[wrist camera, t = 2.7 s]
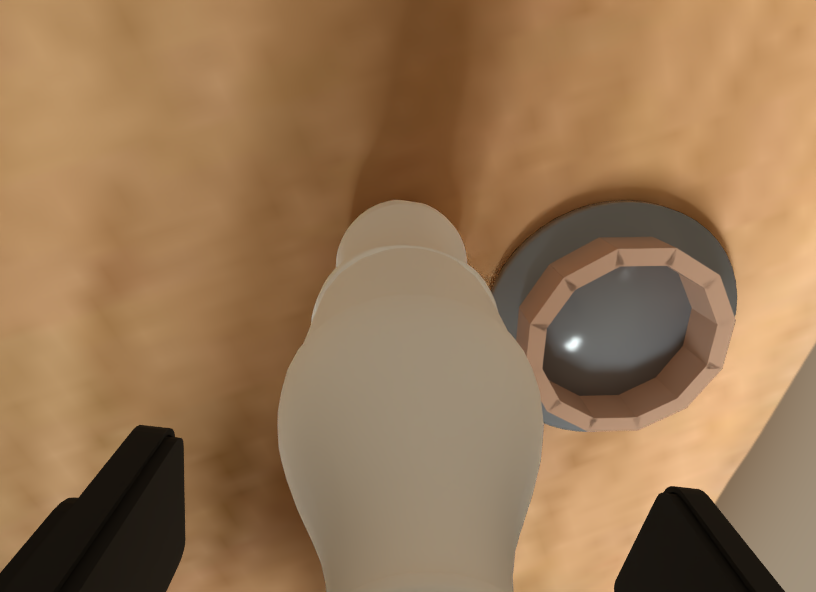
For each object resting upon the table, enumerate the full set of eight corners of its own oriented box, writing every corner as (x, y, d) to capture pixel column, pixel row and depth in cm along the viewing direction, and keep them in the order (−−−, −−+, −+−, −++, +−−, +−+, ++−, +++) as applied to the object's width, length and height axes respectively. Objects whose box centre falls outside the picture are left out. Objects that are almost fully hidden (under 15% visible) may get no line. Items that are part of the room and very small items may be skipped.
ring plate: (754, 358, 32) (795, 385, 28) (542, 456, 34) (558, 492, 31) (682, 148, 26) (722, 152, 23) (438, 283, 29) (444, 304, 26)
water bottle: (377, 323, 30) (323, 1045, 7) (320, 227, 28) (-78, 835, 4) (478, 274, 29) (825, 928, 6) (427, 169, 27) (669, 563, 3)
